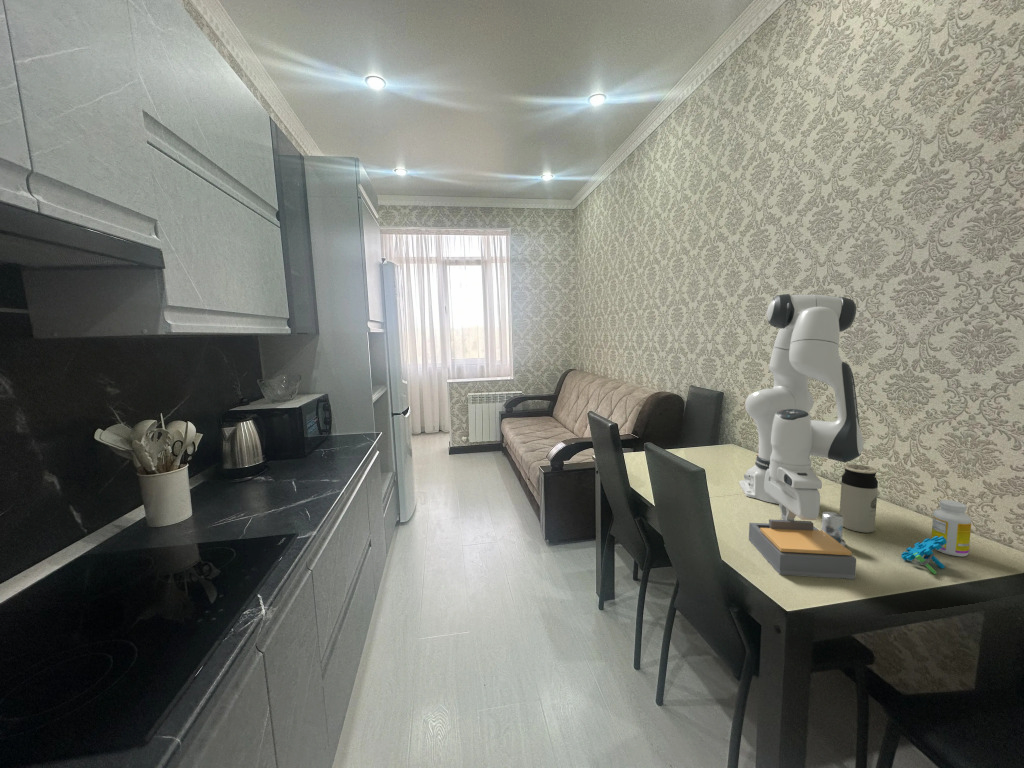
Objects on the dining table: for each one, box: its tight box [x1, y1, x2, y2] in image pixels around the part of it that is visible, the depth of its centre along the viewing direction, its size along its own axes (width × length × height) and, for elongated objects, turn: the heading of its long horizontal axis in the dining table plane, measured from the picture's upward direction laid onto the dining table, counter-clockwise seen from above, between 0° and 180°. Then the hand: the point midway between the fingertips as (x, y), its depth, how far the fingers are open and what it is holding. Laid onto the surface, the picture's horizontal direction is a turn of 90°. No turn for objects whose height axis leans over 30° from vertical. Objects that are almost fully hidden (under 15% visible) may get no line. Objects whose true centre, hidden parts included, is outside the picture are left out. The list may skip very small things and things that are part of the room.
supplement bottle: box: [930, 499, 972, 557], centre depth 103 cm, size 7×7×13 cm
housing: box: [748, 522, 857, 580], centre depth 101 cm, size 17×16×5 cm
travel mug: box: [839, 463, 879, 534], centre depth 116 cm, size 8×8×18 cm
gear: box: [900, 536, 947, 575], centre depth 97 cm, size 11×6×10 cm
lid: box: [760, 518, 852, 555], centre depth 99 cm, size 12×15×3 cm
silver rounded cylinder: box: [820, 511, 847, 547], centre depth 108 cm, size 6×6×8 cm
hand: (787, 521), depth 106 cm, fingers closed
